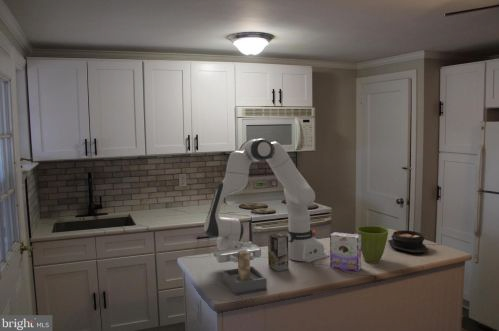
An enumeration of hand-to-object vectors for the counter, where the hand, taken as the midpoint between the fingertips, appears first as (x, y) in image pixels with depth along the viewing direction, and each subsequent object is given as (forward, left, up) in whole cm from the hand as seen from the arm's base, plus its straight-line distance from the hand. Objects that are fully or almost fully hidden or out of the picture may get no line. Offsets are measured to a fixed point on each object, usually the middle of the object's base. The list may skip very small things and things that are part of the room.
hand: (244, 259), depth 176 cm
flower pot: (-70, -4, -12) cm, 71 cm away
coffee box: (-23, -15, -12) cm, 30 cm away
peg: (0, -1, -11) cm, 11 cm away
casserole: (-100, -12, -12) cm, 101 cm away
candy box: (-52, -1, -12) cm, 53 cm away
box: (0, -1, -12) cm, 12 cm away
